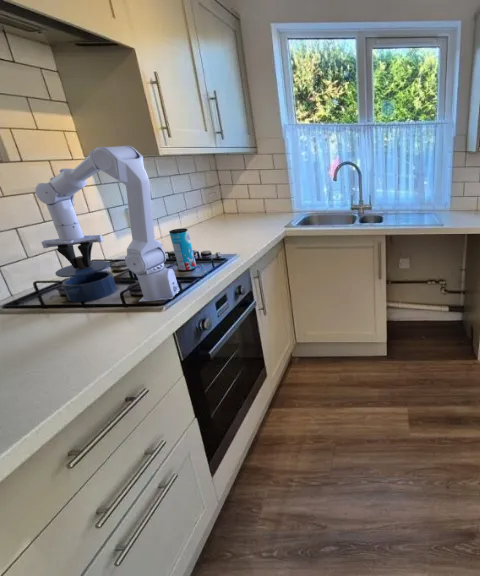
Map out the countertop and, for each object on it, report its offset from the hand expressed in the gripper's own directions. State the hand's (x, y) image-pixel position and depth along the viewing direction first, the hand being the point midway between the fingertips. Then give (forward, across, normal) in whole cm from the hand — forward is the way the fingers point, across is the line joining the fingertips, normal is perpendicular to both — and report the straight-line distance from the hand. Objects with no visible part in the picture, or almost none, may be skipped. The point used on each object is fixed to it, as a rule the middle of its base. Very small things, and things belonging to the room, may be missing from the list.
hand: (82, 266), depth 113 cm
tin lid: (+1, 0, 0) cm, 1 cm away
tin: (+9, 0, 0) cm, 9 cm away
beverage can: (+10, +27, +13) cm, 31 cm away
